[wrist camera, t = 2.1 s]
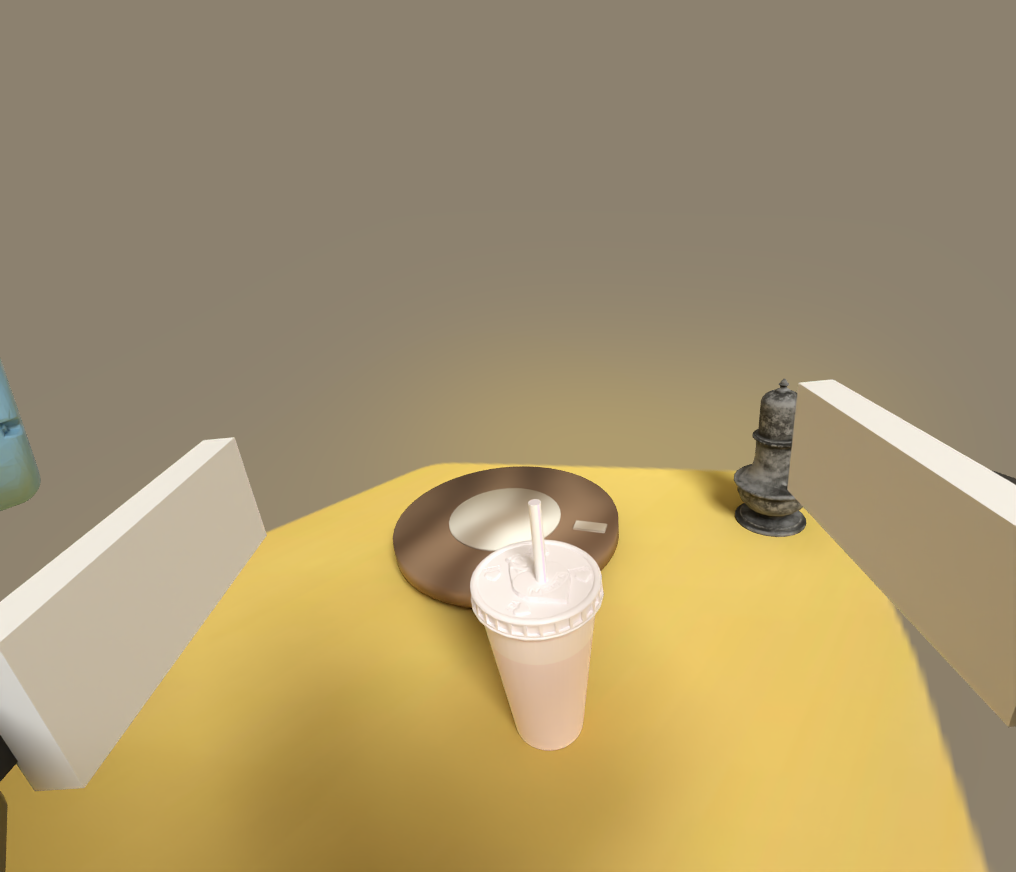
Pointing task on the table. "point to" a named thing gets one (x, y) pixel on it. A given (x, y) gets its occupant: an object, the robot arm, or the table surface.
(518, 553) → the smoothie
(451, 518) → the turntable
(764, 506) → the salt shaker
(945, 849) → the table surface
